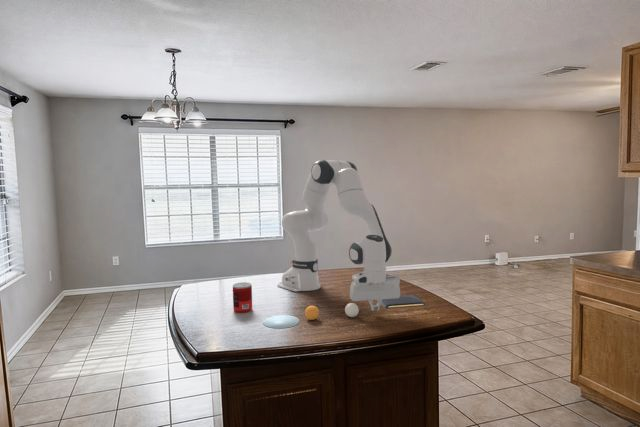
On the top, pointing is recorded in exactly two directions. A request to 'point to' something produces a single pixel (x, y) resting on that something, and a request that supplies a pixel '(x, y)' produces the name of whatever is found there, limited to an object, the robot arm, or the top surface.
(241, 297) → the canned food
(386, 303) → the wallet
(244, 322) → the top surface
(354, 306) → the white ping pong ball
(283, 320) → the light blue disc
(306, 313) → the orange ball
